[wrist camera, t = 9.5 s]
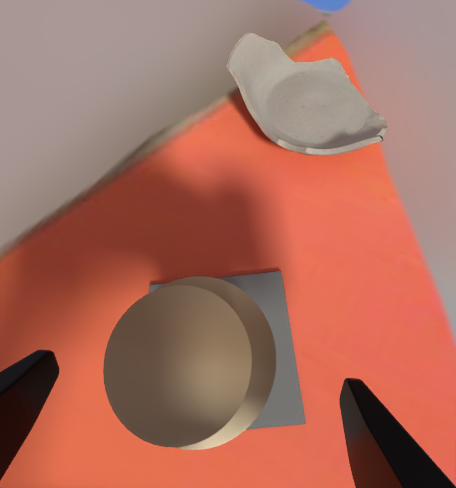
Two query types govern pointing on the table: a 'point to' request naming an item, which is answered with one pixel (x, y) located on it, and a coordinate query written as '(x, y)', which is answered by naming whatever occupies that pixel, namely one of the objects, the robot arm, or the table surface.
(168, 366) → the skittle
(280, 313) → the mat
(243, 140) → the table surface
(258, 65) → the pottery shard
